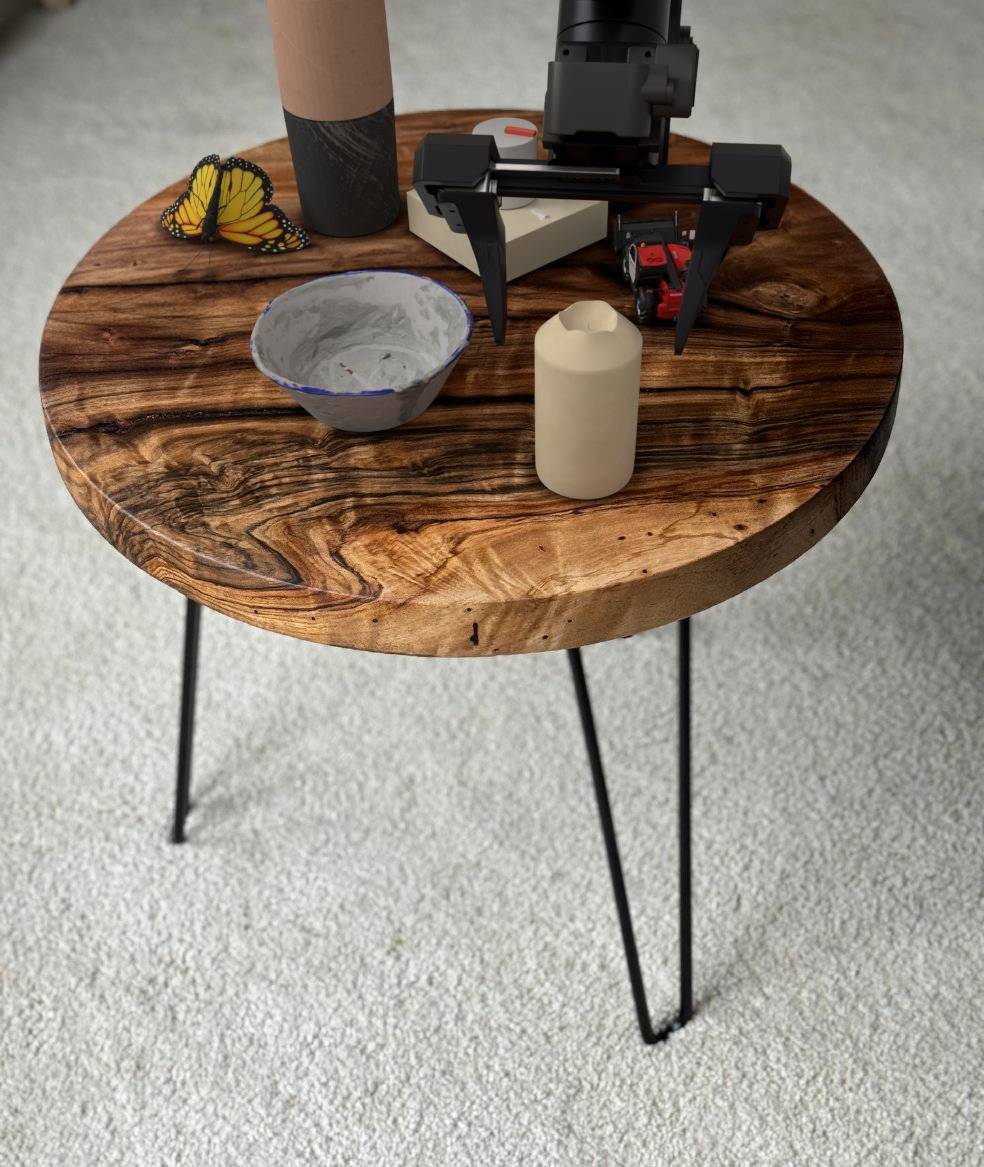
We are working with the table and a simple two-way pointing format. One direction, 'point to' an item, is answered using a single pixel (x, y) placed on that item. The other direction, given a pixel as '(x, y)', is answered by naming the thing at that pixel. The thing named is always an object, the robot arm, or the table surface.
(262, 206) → the butterfly
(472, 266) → the plate
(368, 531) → the table surface
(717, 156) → the robot arm
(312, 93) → the travel mug
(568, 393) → the candle
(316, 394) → the bowl
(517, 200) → the tap knob
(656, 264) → the loader
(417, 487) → the table surface
